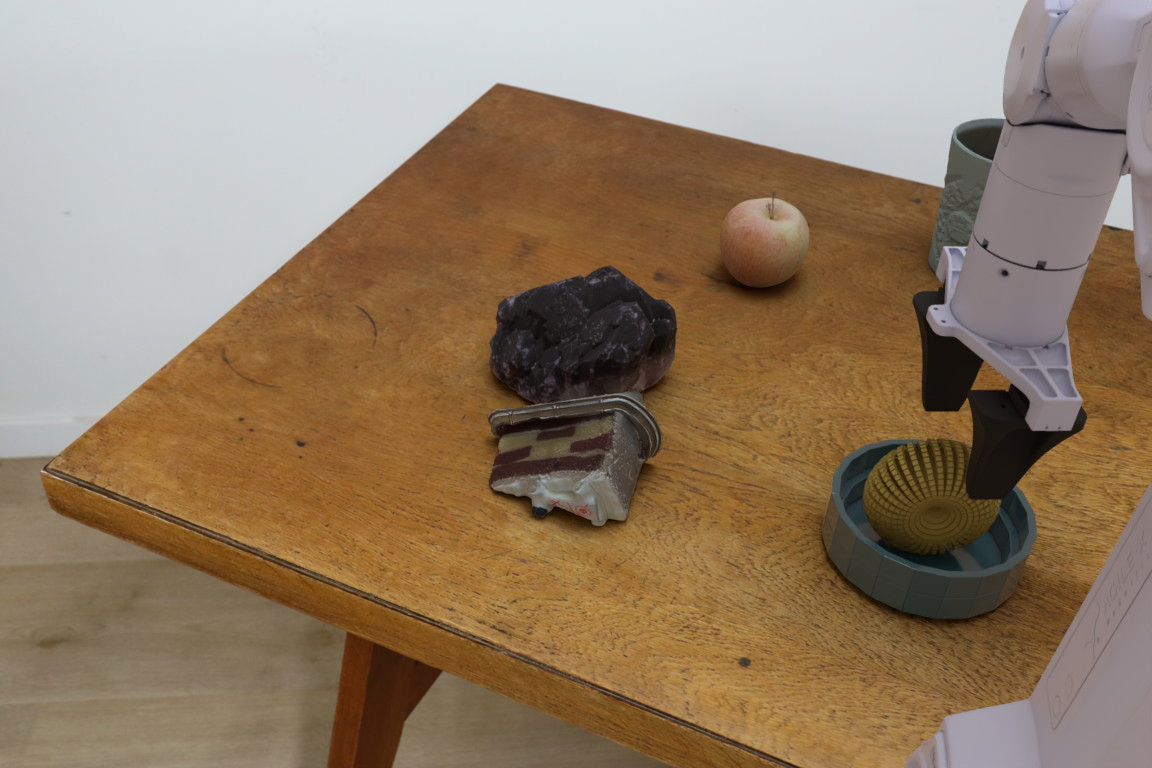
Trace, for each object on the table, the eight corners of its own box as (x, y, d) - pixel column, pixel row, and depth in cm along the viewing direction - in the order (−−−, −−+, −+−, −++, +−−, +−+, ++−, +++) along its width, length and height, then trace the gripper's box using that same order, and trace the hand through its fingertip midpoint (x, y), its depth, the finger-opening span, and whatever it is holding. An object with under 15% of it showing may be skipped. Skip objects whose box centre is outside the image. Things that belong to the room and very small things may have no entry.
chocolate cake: (446, 504, 71) (570, 453, 63) (477, 416, 75) (596, 357, 67) (554, 572, 75) (683, 533, 67) (578, 485, 79) (702, 438, 71)
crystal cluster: (487, 325, 88) (476, 219, 81) (656, 309, 89) (658, 203, 82) (496, 443, 78) (483, 334, 71) (686, 425, 79) (691, 315, 72)
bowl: (1048, 623, 65) (1070, 575, 62) (847, 626, 64) (861, 578, 61) (977, 484, 74) (993, 438, 72) (801, 485, 73) (812, 439, 71)
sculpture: (973, 526, 70) (1008, 429, 65) (988, 573, 67) (1027, 474, 62) (846, 517, 70) (872, 419, 66) (856, 563, 67) (884, 464, 62)
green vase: (924, 291, 94) (960, 161, 87) (913, 233, 102) (946, 110, 95) (1047, 306, 93) (1094, 175, 86) (1027, 246, 101) (1068, 123, 94)
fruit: (722, 249, 98) (734, 166, 93) (805, 264, 96) (822, 181, 92) (706, 293, 92) (718, 207, 87) (795, 309, 91) (812, 223, 86)
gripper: (909, 175, 61) (859, 374, 69) (1008, 321, 49) (934, 540, 57) (1033, 177, 61) (969, 374, 70) (1159, 322, 50) (1065, 538, 58)
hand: (961, 449), depth 64 cm, fingers open, 7 cm apart
